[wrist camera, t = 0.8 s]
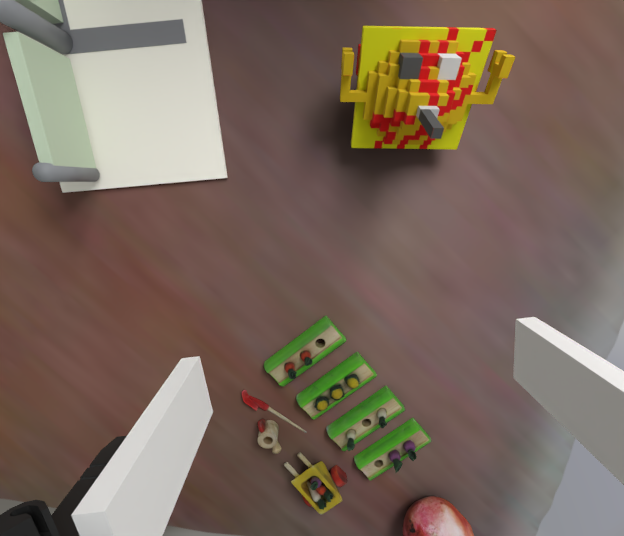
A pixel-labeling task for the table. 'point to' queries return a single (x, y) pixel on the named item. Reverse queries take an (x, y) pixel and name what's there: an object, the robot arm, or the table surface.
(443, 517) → the fruit
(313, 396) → the toy garden set
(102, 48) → the card
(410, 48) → the toy
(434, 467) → the table surface
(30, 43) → the fence panel
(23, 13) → the fence fixed
